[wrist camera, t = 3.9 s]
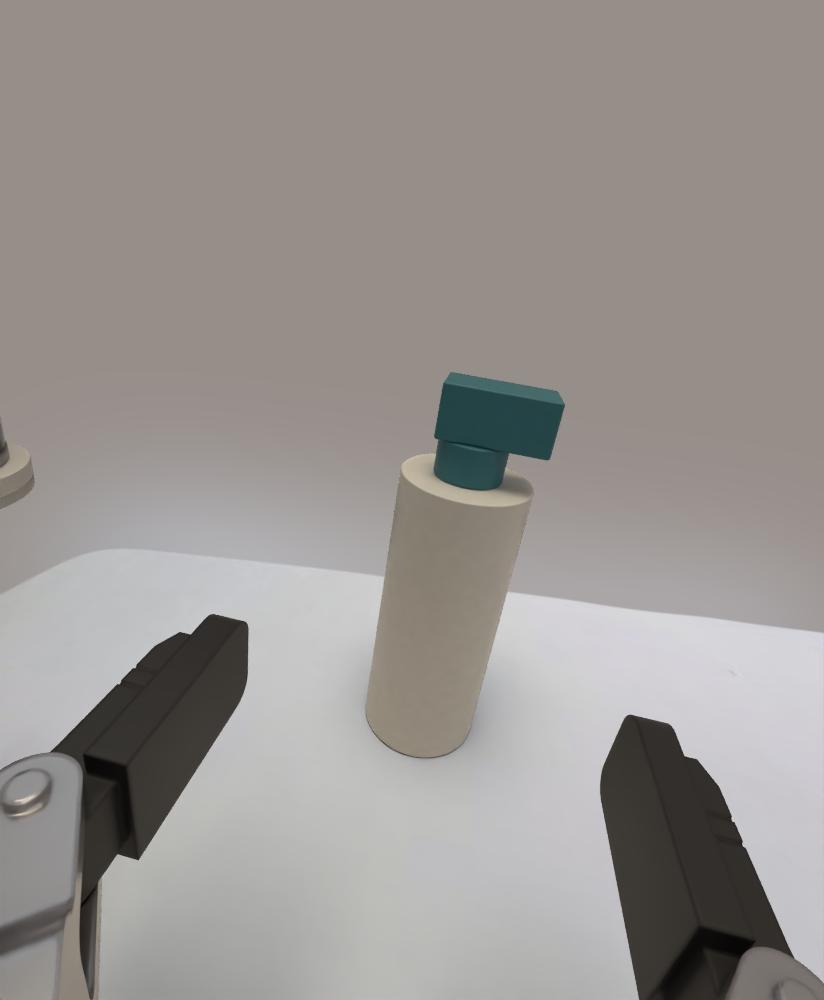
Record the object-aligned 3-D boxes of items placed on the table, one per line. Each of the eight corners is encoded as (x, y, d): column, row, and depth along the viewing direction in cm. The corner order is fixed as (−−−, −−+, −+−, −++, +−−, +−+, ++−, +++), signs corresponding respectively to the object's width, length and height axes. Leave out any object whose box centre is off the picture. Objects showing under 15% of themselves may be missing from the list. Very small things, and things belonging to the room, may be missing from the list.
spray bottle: (352, 741, 21) (402, 382, 15) (379, 662, 26) (426, 361, 20) (469, 771, 21) (571, 413, 15) (475, 685, 25) (555, 384, 19)
